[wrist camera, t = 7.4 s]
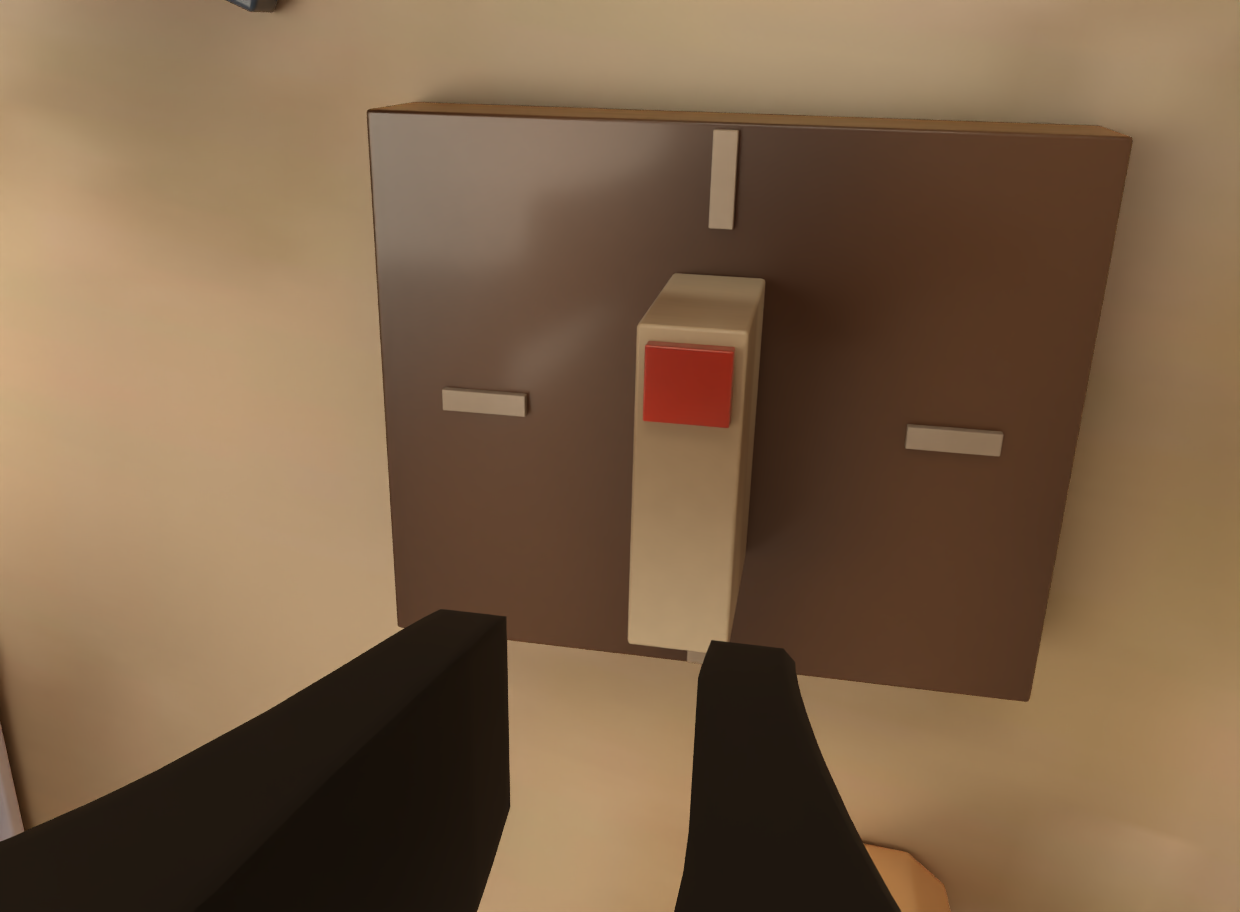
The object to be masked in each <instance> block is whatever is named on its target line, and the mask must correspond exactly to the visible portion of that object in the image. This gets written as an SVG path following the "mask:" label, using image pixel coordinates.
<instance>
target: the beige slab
mask: <svg viewBox="0 0 1240 912" xmlns="http://www.w3.org/2000/svg"><path fill="white" fill-rule="evenodd" d="M764 295H765V280H764V279H761V278H744V277H728V276H712V275H696V274H680V273H675V274H673V275H672V277H671V278H670V280H669V281H668V283H667V284H666V285H665V287H664V288H663V290H662V291H661V292H660V294H659V295H658V297H657V298H656V299H655V301H654V302H653V304H652V305H651V307H650V308H649V309H648V311H647V312H646V314H645V315H644V316H643V318H642V319H641V321H640V322H639V324H638V326H637V341H636V375H635V408H634V442H633V475H632V509H631V543H630V576H629V610H628V642H629V643H630V644H637V645H645V646H653V647H662V648H670V649H678V650H687V651H695V652H703V653H706V652H707V650H708V647H709V645H710V642H711V640H716V641H724V642H729V641H730V636H731V630H732V625H733V620H734V614H735V609H736V603H737V598H738V593H739V587H740V582H741V577H742V571H743V566H744V560H745V555H746V543H747V530H748V516H749V502H750V488H751V474H752V461H753V447H754V433H755V419H756V406H757V392H758V378H759V364H760V350H761V337H762V323H763V309H764Z"/></svg>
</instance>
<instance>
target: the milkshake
mask: <svg viewBox="0 0 1240 912" xmlns="http://www.w3.org/2000/svg"><path fill="white" fill-rule="evenodd" d="M863 844H864V846H865V848H866V849H867V851H868V853H869V855H870V857H871V859H872V860H873V862H874V864H875V866H876V868H877V869H878V871H879V873H880V875H881V877H882V878H883V880H884V882H885V884H886V886H887V887H888V889H889V891H890V893H891V895H892V896H893V898H894V900H895V901H896V903H897V905H898V906H899V908H900V910H901V911H902V912H951V911H950V907H949V902H948V898H947V893H946V890H945V886H944V884H943V883H942V882H941V881H939V880H938V879H937V878H936V877H935V876H934V875H933V874H931V873H930V872H929V871H928V870H927V869H926V868H925V867H924V866H922V865H921V864H920V863H919V862H918V861H917V860H916V859H915V858H914V857H912V856H911V855H910V854H909V853H908V852H904V851H899V850H894V849H889V848H884V847H879V846H874V845H869V844H865V843H863Z"/></svg>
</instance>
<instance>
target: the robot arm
mask: <svg viewBox="0 0 1240 912" xmlns="http://www.w3.org/2000/svg"><path fill="white" fill-rule="evenodd" d="M509 809H510V772H509V720H508V668H507V616H499V615H490V614H482V613H473V612H464V611H456V610H447V609H439V610H437V611H435V612H433V613H431V614H429V615H427V616H425V617H424V618H422V619H420V620H418V621H416V622H415V623H413V624H411V625H409V626H408V627H406V628H404V629H403V630H401V631H399V632H398V633H396V634H394V635H393V636H391V637H389V638H388V639H386V640H384V641H383V642H381V643H379V644H378V645H376V646H374V647H373V648H371V649H370V650H368V651H366V652H365V653H363V654H361V655H360V656H358V657H356V658H355V659H353V660H352V661H350V662H348V663H347V664H345V665H343V666H342V667H340V668H338V669H337V670H335V671H333V672H332V673H330V674H328V675H327V676H325V677H323V678H322V679H320V680H318V681H317V682H315V683H313V684H312V685H310V686H308V687H306V688H305V689H303V690H301V691H300V692H298V693H296V694H295V695H293V696H291V697H290V698H288V699H286V700H285V701H283V702H281V703H280V704H278V705H276V706H275V707H273V708H271V709H269V710H268V711H266V712H264V713H262V714H261V715H259V716H257V717H255V718H253V719H251V720H249V721H248V722H246V723H244V724H242V725H240V726H238V727H236V728H235V729H233V730H231V731H229V732H227V733H225V734H223V735H222V736H220V737H218V738H216V739H214V740H212V741H211V742H209V743H207V744H205V745H203V746H201V747H199V748H198V749H196V750H194V751H192V752H190V753H188V754H186V755H185V756H183V757H181V758H179V759H177V760H175V761H173V762H172V763H170V764H168V765H166V766H164V767H162V768H161V769H159V770H157V771H155V772H153V773H151V774H149V775H147V776H145V777H143V778H141V779H139V780H137V781H135V782H132V783H130V784H128V785H126V786H124V787H122V788H120V789H118V790H116V791H114V792H112V793H109V794H107V795H105V796H103V797H101V798H99V799H97V800H95V801H92V802H90V803H88V804H86V805H84V806H81V807H79V808H77V809H74V810H72V811H70V812H68V813H65V814H63V815H61V816H59V817H56V818H54V819H52V820H49V821H47V822H45V823H43V824H40V825H38V826H36V827H33V828H31V829H29V830H27V831H24V828H23V823H22V819H21V814H20V810H19V805H18V801H17V796H16V792H15V787H14V782H13V778H12V773H11V769H10V764H9V760H8V755H7V751H6V746H5V741H4V737H3V732H2V728H1V723H0V912H477V910H478V907H479V904H480V901H481V898H482V895H483V892H484V889H485V886H486V883H487V880H488V877H489V874H490V871H491V868H492V865H493V862H494V858H495V855H496V852H497V848H498V845H499V842H500V839H501V835H502V832H503V829H504V825H505V822H506V819H507V816H508V812H509ZM674 912H902V911H901V910H900V908H899V906H898V905H897V903H896V901H895V900H894V898H893V896H892V895H891V893H890V891H889V889H888V887H887V886H886V884H885V882H884V880H883V878H882V877H881V875H880V873H879V871H878V869H877V868H876V866H875V864H874V862H873V860H872V859H871V857H870V855H869V853H868V851H867V849H866V848H865V846H864V844H863V842H862V840H861V838H860V836H859V834H858V832H857V830H856V828H855V826H854V824H853V822H852V820H851V818H850V816H849V814H848V812H847V809H846V807H845V805H844V803H843V801H842V798H841V796H840V794H839V792H838V790H837V788H836V785H835V783H834V781H833V779H832V777H831V774H830V772H829V770H828V768H827V766H826V763H825V761H824V758H823V756H822V753H821V751H820V749H819V746H818V744H817V741H816V738H815V736H814V733H813V730H812V727H811V724H810V722H809V719H808V716H807V713H806V710H805V707H804V703H803V700H802V697H801V693H800V689H799V685H798V680H797V675H796V664H795V661H794V660H793V659H792V658H791V657H790V655H789V654H788V653H787V652H786V651H785V649H784V648H776V647H768V646H759V645H750V644H742V643H733V642H724V641H716V640H711V642H710V645H709V647H708V650H707V652H706V655H705V658H704V661H703V664H702V667H701V670H700V673H699V676H698V690H697V706H696V723H695V739H694V755H693V772H692V788H691V805H690V821H689V834H688V842H687V849H686V856H685V864H684V871H683V876H682V880H681V885H680V889H679V893H678V898H677V902H676V906H675V910H674Z"/></svg>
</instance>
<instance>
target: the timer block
mask: <svg viewBox="0 0 1240 912" xmlns="http://www.w3.org/2000/svg"><path fill="white" fill-rule="evenodd" d="M367 125H368V142H369V158H370V175H371V191H372V208H373V224H374V241H375V257H376V274H377V290H378V307H379V323H380V340H381V356H382V373H383V389H384V406H385V422H386V439H387V455H388V472H389V488H390V505H391V521H392V538H393V554H394V571H395V587H396V604H397V620H398V626H399V627H403V628H406V627H408V626H409V625H411V624H413V623H415V622H416V621H418V620H420V619H422V618H424V617H425V616H427V615H429V614H431V613H433V612H435V611H437V610H439V609H447V610H456V611H464V612H473V613H482V614H490V615H499V616H507V640H512V641H520V642H529V643H537V644H545V645H554V646H562V647H571V648H579V649H587V650H596V651H604V652H613V653H621V654H629V655H638V656H646V657H655V658H663V659H671V660H680V661H687V662H688V663H697V664H703V661H704V658H705V655H706V653H703V652H695V651H687V650H678V649H670V648H662V647H653V646H645V645H637V644H630V643H629V642H628V610H629V576H630V543H631V509H632V475H633V442H634V408H635V375H636V341H637V326H638V324H639V322H640V321H641V319H642V318H643V316H644V315H645V314H646V312H647V311H648V309H649V308H650V307H651V305H652V304H653V302H654V301H655V299H656V298H657V297H658V295H659V294H660V292H661V291H662V290H663V288H664V287H665V285H666V284H667V283H668V281H669V280H670V278H671V277H672V275H673V274H675V273H680V274H696V275H712V276H728V277H744V278H761V279H764V280H765V295H764V309H763V323H762V337H761V350H760V364H759V378H758V392H757V406H756V419H755V433H754V447H753V461H752V474H751V488H750V502H749V516H748V530H747V543H746V555H745V560H744V566H743V571H742V577H741V582H740V587H739V593H738V598H737V603H736V609H735V614H734V620H733V625H732V630H731V636H730V641H729V642H733V643H742V644H750V645H759V646H768V647H776V648H784V649H785V651H786V652H787V653H788V654H789V655H790V657H791V658H792V659H793V660H794V661H795V664H796V674H797V675H806V676H814V677H823V678H831V679H839V680H848V681H856V682H865V683H873V684H881V685H890V686H898V687H907V688H915V689H923V690H932V691H940V692H949V693H957V694H965V695H974V696H982V697H991V698H999V699H1007V700H1016V701H1024V702H1027V701H1029V699H1030V695H1031V690H1032V684H1033V679H1034V673H1035V668H1036V663H1037V657H1038V652H1039V646H1040V641H1041V636H1042V630H1043V625H1044V619H1045V614H1046V608H1047V603H1048V598H1049V592H1050V587H1051V581H1052V576H1053V570H1054V565H1055V560H1056V554H1057V549H1058V543H1059V538H1060V533H1061V527H1062V522H1063V516H1064V511H1065V505H1066V500H1067V495H1068V489H1069V484H1070V478H1071V473H1072V468H1073V462H1074V457H1075V451H1076V446H1077V440H1078V435H1079V430H1080V424H1081V419H1082V413H1083V408H1084V403H1085V397H1086V392H1087V386H1088V381H1089V375H1090V370H1091V365H1092V359H1093V354H1094V348H1095V343H1096V338H1097V332H1098V327H1099V321H1100V316H1101V310H1102V305H1103V300H1104V294H1105V289H1106V283H1107V278H1108V272H1109V267H1110V262H1111V256H1112V251H1113V245H1114V240H1115V235H1116V229H1117V224H1118V218H1119V213H1120V207H1121V202H1122V197H1123V191H1124V186H1125V180H1126V175H1127V170H1128V164H1129V159H1130V153H1131V148H1132V142H1133V140H1132V137H1130V136H1127V135H1124V134H1121V133H1118V132H1116V131H1113V130H1110V129H1107V128H1104V127H1101V126H1095V125H1066V124H1037V123H1008V122H979V121H950V120H921V119H892V118H863V117H834V116H806V115H777V114H748V113H719V112H690V111H661V110H632V109H603V108H574V107H545V106H516V105H487V104H458V103H429V102H411V103H405V104H399V105H392V106H386V107H379V108H373V109H369V110H367Z"/></svg>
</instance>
